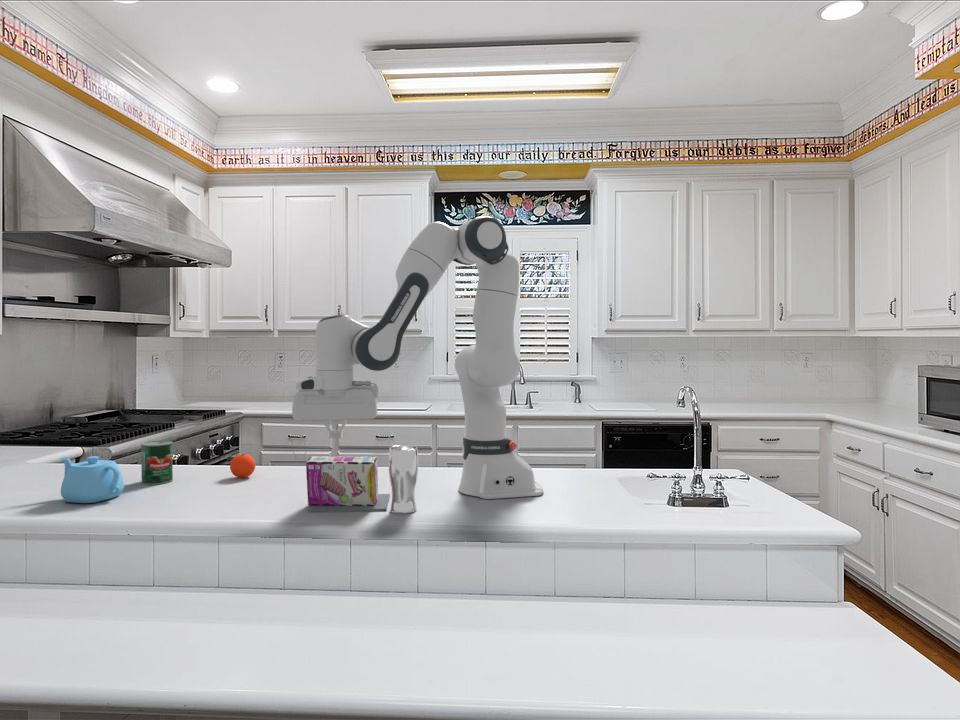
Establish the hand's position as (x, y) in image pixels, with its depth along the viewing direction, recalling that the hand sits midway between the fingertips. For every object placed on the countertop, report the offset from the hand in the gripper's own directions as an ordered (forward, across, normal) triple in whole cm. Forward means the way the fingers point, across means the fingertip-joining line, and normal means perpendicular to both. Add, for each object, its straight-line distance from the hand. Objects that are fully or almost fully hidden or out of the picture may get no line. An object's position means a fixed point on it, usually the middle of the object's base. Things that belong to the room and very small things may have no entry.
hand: (336, 437), depth 155 cm
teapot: (+15, +63, -9) cm, 65 cm away
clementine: (+16, +32, -31) cm, 47 cm away
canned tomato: (+16, +54, -27) cm, 62 cm away
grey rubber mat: (+16, -3, 0) cm, 17 cm away
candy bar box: (+10, +7, +2) cm, 12 cm away
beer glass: (+17, -16, +7) cm, 24 cm away
